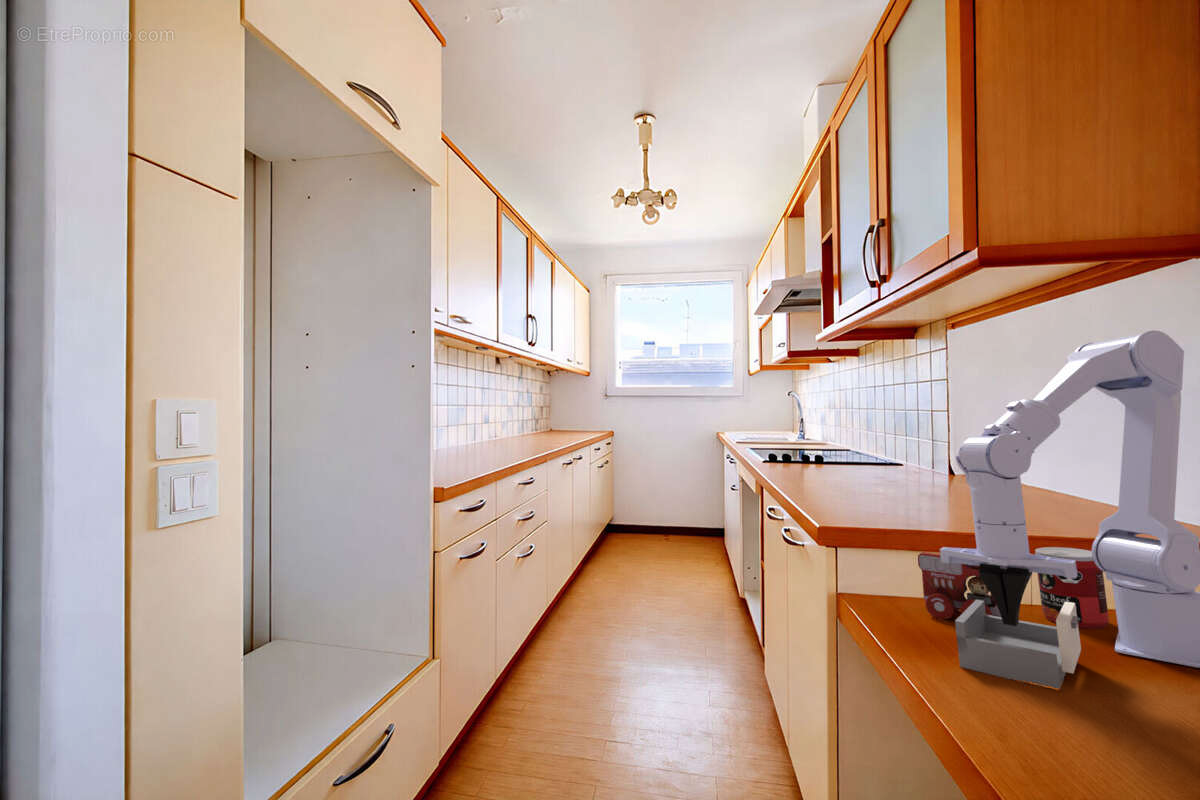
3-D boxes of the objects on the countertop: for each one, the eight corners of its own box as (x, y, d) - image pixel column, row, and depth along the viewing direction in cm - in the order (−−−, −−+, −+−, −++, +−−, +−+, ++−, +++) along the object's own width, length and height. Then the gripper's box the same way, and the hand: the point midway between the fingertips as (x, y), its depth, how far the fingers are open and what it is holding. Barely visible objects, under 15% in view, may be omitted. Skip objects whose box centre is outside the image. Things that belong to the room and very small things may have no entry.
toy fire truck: (1006, 633, 78) (998, 565, 79) (916, 615, 87) (910, 554, 88) (1016, 621, 82) (1008, 557, 83) (929, 605, 92) (924, 547, 93)
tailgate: (1085, 650, 66) (1079, 603, 67) (1077, 674, 60) (1071, 622, 61) (1070, 647, 67) (1065, 601, 68) (1062, 671, 61) (1055, 620, 62)
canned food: (1030, 613, 85) (1022, 547, 86) (1079, 612, 85) (1070, 545, 86) (1071, 630, 78) (1061, 558, 79) (1124, 628, 77) (1114, 555, 78)
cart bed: (1070, 659, 68) (1065, 613, 69) (1059, 691, 60) (1053, 639, 61) (980, 640, 76) (976, 599, 76) (960, 666, 68) (955, 620, 68)
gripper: (930, 521, 72) (940, 619, 71) (1066, 531, 62) (1081, 646, 60) (944, 515, 77) (953, 606, 76) (1072, 523, 66) (1086, 629, 65)
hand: (1010, 623), depth 68 cm, fingers closed
